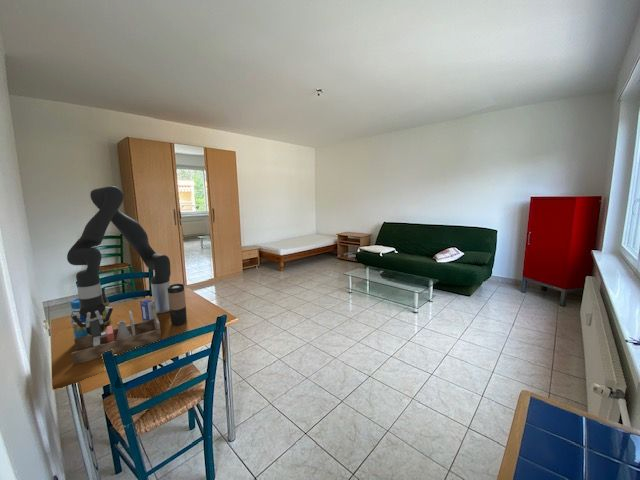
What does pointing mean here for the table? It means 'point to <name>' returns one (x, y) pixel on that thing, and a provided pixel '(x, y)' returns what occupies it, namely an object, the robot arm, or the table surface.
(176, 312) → the travel mug
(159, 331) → the brown wooden open box
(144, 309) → the walkman
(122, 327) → the flask
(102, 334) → the kicker
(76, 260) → the robot arm
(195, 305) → the table surface
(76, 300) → the blue-lidded jar
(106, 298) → the sauce bottle
